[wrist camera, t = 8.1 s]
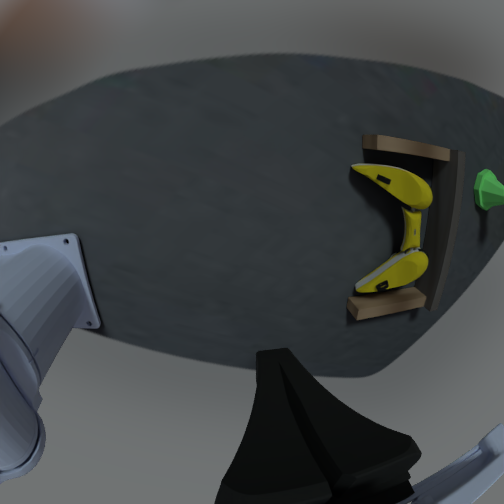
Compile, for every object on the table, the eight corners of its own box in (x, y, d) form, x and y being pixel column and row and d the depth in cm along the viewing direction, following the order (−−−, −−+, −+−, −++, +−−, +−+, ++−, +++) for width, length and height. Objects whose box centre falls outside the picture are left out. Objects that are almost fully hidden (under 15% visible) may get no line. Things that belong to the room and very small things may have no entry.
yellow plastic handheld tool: (419, 272, 22) (430, 292, 19) (353, 276, 23) (356, 298, 20) (423, 160, 18) (439, 165, 15) (348, 161, 20) (353, 167, 17)
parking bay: (346, 307, 22) (361, 327, 20) (362, 134, 17) (385, 134, 15) (419, 294, 24) (437, 309, 21) (441, 148, 18) (465, 152, 16)
